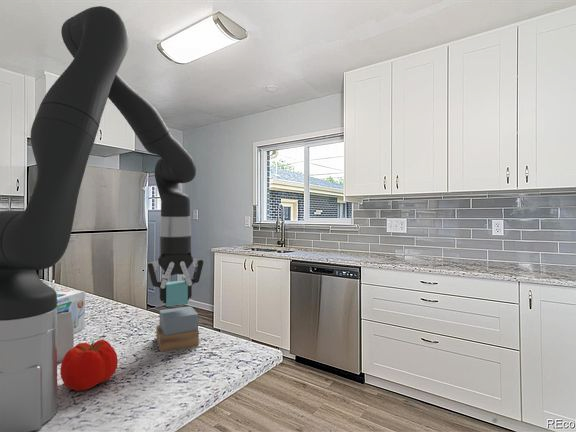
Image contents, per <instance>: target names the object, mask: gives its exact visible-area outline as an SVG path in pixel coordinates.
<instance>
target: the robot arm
mask: <svg viewBox="0 0 576 432" xmlns="http://www.w3.org/2000/svg"><path fill="white" fill-rule="evenodd" d="M60 32H61V33H60V34H61V38H62V41H63V44H64V45H65V47H66V49H67V50H68V52H69V54H70V55H71V56H72V57H73V60H72V61H71V62H70V63H69V65H68V66H67V68H66V69H64V71H63V72H62V73H61V74H60V75H59V77H58V78H57V79H56V80H55V81H54V83H53V84H52V85H51V87H50V88H49V89H48V90H47V92H46V94H45V95H44V97H43V98H42V100H41V103H40V105H39V108H38V110H37V111H36V115H35V118H34V119H33V122H32V125H31V129H30V143H31V149H32V153H33V156H34V160H35V163H36V164H35V165H36V172H37V174H36V181H35V185H34V188H33V191H32V193H31V196H30V199H29V201H28V203H27V206H26V207H25V210H1V211H0V432H33V431H38V430H41V429H42V426H43V425H45V424H46V422H48V421H49V420H51V419H52V418H53V417H54V416H55V415H56V413H58V362H57V294H56V293H57V292H56V290H55V289H54V288H52V287H51V286H49V285H48V284H46V283H45V282H44V281H43V280H41V278H40V277H39V275H38V273H37V271H41V270H47V269H49V268H51V267H53V266H54V265H56V264H57V263H59V261H60V260H61V259H62V258H63V256H64V254H65V253H66V251H67V248H68V246H69V242H70V239H71V235H72V231H73V225H74V221H75V214H76V209H77V204H78V203H77V202H78V198H79V193H80V189H81V186H82V185H81V184H82V183H83V178H84V175H85V172H86V168H87V164H88V161H89V158H90V155H91V152H92V149H93V146H94V144H95V141H96V140H95V139H97V138H96V137H97V134H98V131H99V128H100V124H101V120H102V117H103V114H104V110H105V107H106V105H107V101H108V99H109V100H110V102H111V103H112V104H113V105H114V107H116V108H117V110H118V111H119V112H120V114H121V115H122V116H123V117H124V119H125V120H126V122H127V123H128V125H129V127H130V128H131V129H132V131H133V132H134V134H135V135H136V137H137V139H138V140H139V142H140V143H141V145H142V147H143V148H144V149H145V150H146V152H148V153H149V154H152V155H157V156H158V157H160V158H159V159H158V161H157V162H156V163H155V167H154V180H155V183H156V187H157V191H158V195H159V199H160V222H159V223H160V224H159V257H158V258H157V260H155V261H152V262H151V261H148V262H146V267H147V271H148V275H149V278H150V282H151V285H152V287H154V288H155V287H156V288H158V289H159V300H160V301H161V302H162V303H163V304H165V303H166V288H165V286H166V284H167V282H169V279H170V277H171V276H175V275H182V277H183V279H184V280H183V281H185V282H186V283H187V284H188V301H190V299H191V298H192V287H193V285H194V284H198V283H199V282H200V279H201V274H202V271H203V266H204V260H203V259H201V258H198V259H197V258H193V256H192V223H191V201H190V196H189V195H188V194H186V193H183V192H182V191H181V188H180V185H179V184H186V183H190V182H192V181H193V180H194V179H195V177H196V175H197V166H196V163H195V160H194V159H193V157H192V156H191V155H190V153H189V152H188V151H187V150H186V149H185V147H183V145H182V144H181V143H180V142H179V141H178V140H177V139H176V138H174V136H173V135H172V134H171V132H170V130H169V128H168V126H167V125H166V123H165V121H164V119H163V118H162V115H161V114H160V113H159V111H158V110H157V109H156V108H155V107H154V106H153V105H152V103H150V102H149V101H148V100H147V99H145V97H143V96H142V95H141V94H139V93H138V92H137V91H136V90H135V89H133V88H132V87H131V86H130V85H129V84H128V83H127V82H126V81H125V80H124V79H123V78H122V77H121V75H120V74H119V73H118V71H119V69H120V68H121V65H122V63H123V61H124V59H125V57H126V55H127V52H128V50H129V45H130V36H129V31H128V28H127V25H126V23H125V21H124V19H123V18H122V17H121V15H120V14H119V13H118V12H116V11H115V10H113V9H111V8H109V7H107V6H102V5H101V6H100V5H99V6H92V7H88V8H87V9H84V10H82V11H80V12H78V13H77V14H75V15H73V16H71V17H70V18H68V19H66V20H65V21H64V22H63V23H62V26H61V31H60ZM192 264H193V267H194V270H193V271H194V272H193V275H192V277H191V276H190V274H189V268H190V266H191V265H192ZM158 266H160V268H161V269H162V270H163V272H162V275H161V279H160V281H159V280H158V279H157V275H156V271H157V270H158Z"/></svg>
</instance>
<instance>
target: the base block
mask: <svg viewBox="0 0 576 432" xmlns="http://www.w3.org/2000/svg"><path fill="white" fill-rule="evenodd" d="M155 332H156V333H155V334H156V337H155V338H156V343H157V346H158V349H159V352H160V353H162V352H168V351H175V350H180V349H185V348H190V347H191V348H192V347H197V346H199V345H200V344H199V342H200V341H199V340H200V336H199V333H200V330H199V329H198V330H195V331H189V332H183V333H177V334H171V335H164V333H163V332H162V330H161V328H160V324H157V325H156V331H155Z"/></svg>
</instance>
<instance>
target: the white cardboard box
mask: <svg viewBox="0 0 576 432" xmlns="http://www.w3.org/2000/svg"><path fill="white" fill-rule="evenodd" d="M74 334H75V333H74V331H73V323H72V315H71V312H66V313H61V314H57V363H58V362H62V361H63V358H64V356H65V354H66V353H67V352H68V351H69V350H70V349H73V348H74V347H75V346H74V337H75V335H74Z"/></svg>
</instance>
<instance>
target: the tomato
mask: <svg viewBox="0 0 576 432" xmlns="http://www.w3.org/2000/svg"><path fill="white" fill-rule="evenodd" d="M118 362H119V360H118V355H117V352H116V350H115V348H113V347H112V345H111V343H109V342H108V340H105V339H100V340H97V341H95V342H94V341H92V342H91V344H89V343H88V342H80V343H78V344H75V346H74V348H73V349H70V350H69V351H68V352H67V353H66V354H65V356H64V358H63V360H61V364H60V371H59V372H60V378H61V381H62V383H63V384H64V386H65V387H66V388H68V389H72V390H74V391H87V390H89V389H91V388H93V387H95V386H97V384H102V383H105V382H106V381H108V380H109V379H110V378H112V377H113V375H114V374H115V372H116V370H117V368H118V364H119V363H118ZM110 380H111V379H110Z"/></svg>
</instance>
